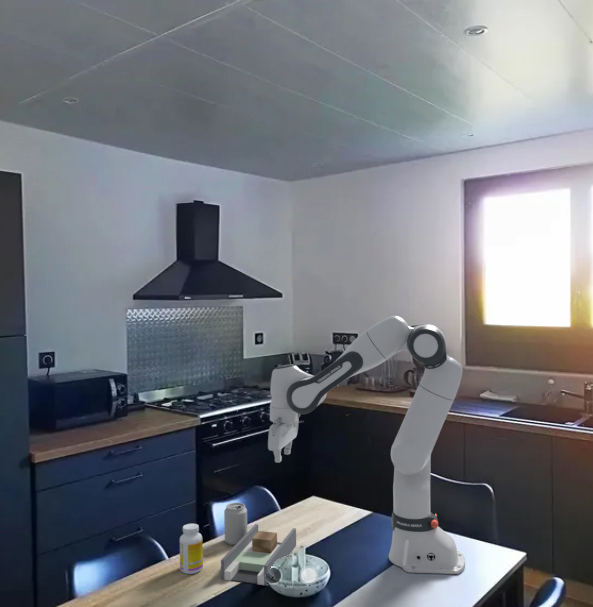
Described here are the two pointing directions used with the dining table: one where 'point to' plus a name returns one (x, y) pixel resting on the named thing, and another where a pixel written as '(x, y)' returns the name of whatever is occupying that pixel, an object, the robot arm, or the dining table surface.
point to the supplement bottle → (191, 549)
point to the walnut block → (264, 542)
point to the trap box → (253, 559)
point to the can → (235, 522)
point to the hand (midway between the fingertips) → (282, 457)
